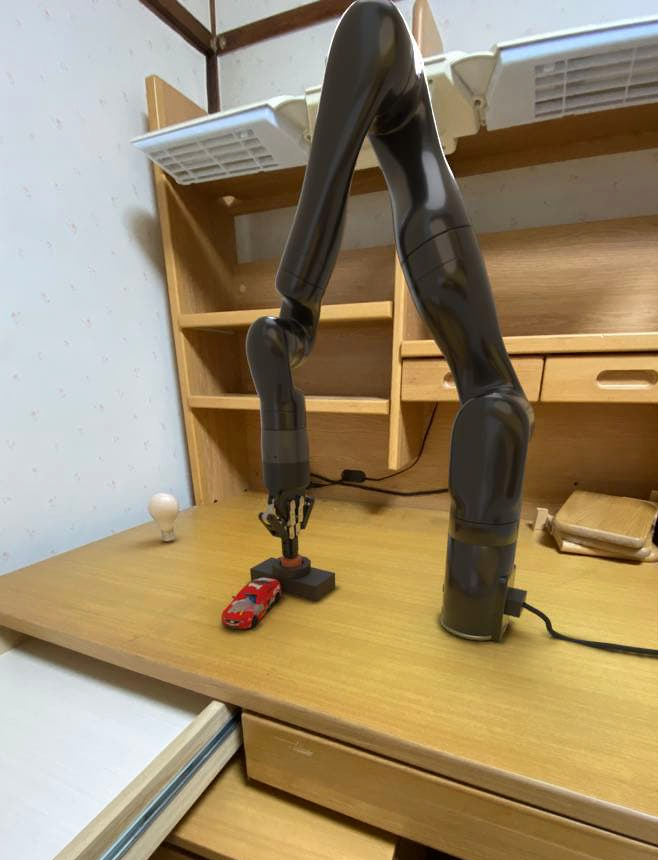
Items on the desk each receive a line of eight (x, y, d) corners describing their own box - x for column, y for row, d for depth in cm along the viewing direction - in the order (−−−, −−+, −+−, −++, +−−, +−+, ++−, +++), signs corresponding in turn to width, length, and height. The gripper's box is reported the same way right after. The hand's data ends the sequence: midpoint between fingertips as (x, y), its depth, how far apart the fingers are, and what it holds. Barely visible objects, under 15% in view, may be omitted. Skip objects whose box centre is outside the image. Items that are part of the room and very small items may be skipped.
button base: (336, 587, 80) (335, 563, 79) (315, 602, 75) (314, 578, 74) (273, 570, 87) (271, 548, 85) (250, 584, 82) (248, 560, 80)
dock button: (306, 564, 80) (305, 555, 80) (294, 572, 77) (293, 562, 77) (289, 560, 82) (289, 551, 81) (277, 567, 79) (276, 558, 79)
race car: (248, 636, 66) (245, 612, 65) (215, 629, 68) (212, 606, 66) (287, 595, 78) (286, 573, 76) (259, 590, 79) (257, 569, 78)
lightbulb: (175, 547, 99) (168, 497, 95) (147, 545, 100) (139, 496, 96) (188, 537, 105) (182, 490, 101) (163, 535, 105) (155, 489, 102)
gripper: (278, 466, 66) (284, 575, 72) (327, 451, 76) (329, 548, 83) (239, 461, 70) (248, 566, 76) (291, 448, 80) (295, 541, 86)
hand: (290, 556), depth 79 cm, fingers closed
